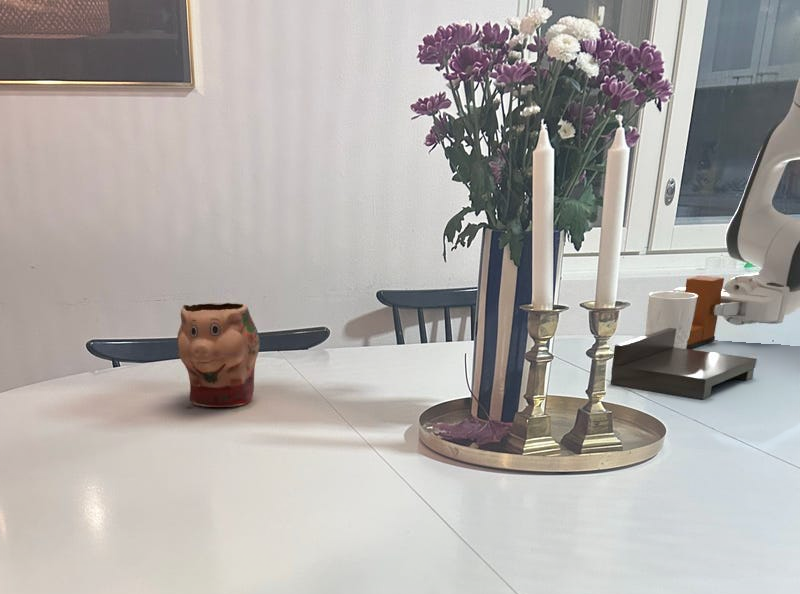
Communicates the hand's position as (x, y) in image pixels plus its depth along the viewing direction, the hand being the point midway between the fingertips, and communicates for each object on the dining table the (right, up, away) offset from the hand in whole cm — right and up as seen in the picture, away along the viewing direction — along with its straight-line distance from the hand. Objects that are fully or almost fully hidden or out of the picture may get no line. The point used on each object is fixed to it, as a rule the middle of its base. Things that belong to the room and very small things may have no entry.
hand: (697, 307), depth 170 cm
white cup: (-8, -11, -6) cm, 15 cm away
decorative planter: (-84, -23, -26) cm, 91 cm away
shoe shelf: (-12, -20, -23) cm, 32 cm away
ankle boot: (-1, -6, +2) cm, 6 cm away
